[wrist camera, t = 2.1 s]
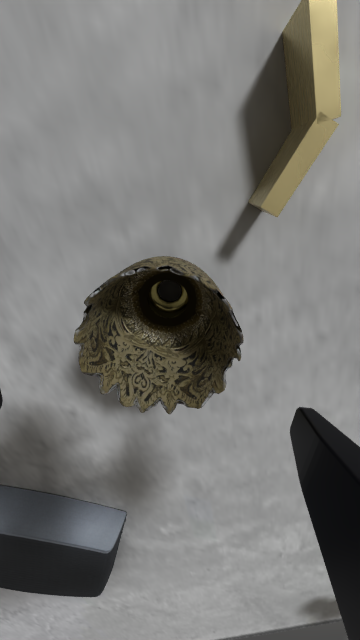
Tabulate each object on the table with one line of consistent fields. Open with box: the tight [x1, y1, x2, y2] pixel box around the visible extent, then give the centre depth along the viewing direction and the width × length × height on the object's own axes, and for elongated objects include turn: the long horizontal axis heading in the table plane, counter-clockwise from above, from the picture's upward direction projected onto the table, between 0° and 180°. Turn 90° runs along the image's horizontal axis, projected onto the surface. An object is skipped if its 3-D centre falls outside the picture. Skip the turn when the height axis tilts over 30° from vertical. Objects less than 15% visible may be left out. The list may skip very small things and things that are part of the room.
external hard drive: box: [0, 485, 126, 597], centre depth 31 cm, size 13×19×4 cm
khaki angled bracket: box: [248, 0, 341, 217], centre depth 14 cm, size 8×3×4 cm, turn 173°
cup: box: [74, 256, 243, 414], centre depth 16 cm, size 8×7×8 cm
